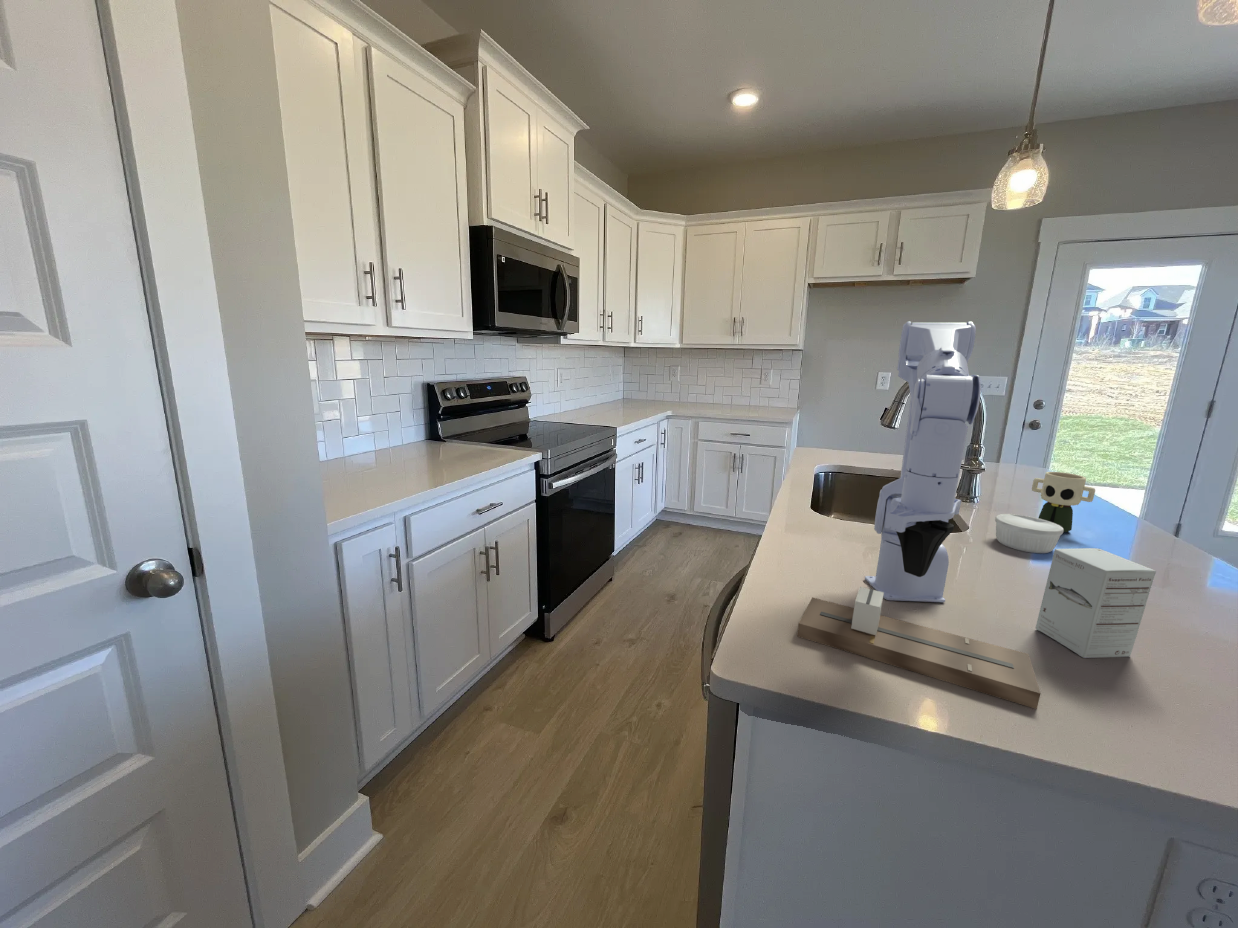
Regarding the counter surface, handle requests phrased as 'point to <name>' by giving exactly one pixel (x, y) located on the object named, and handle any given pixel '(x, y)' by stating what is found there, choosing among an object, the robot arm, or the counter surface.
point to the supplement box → (1094, 602)
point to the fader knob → (867, 610)
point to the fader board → (926, 652)
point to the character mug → (1061, 496)
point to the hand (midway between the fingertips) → (914, 573)
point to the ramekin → (1027, 533)
